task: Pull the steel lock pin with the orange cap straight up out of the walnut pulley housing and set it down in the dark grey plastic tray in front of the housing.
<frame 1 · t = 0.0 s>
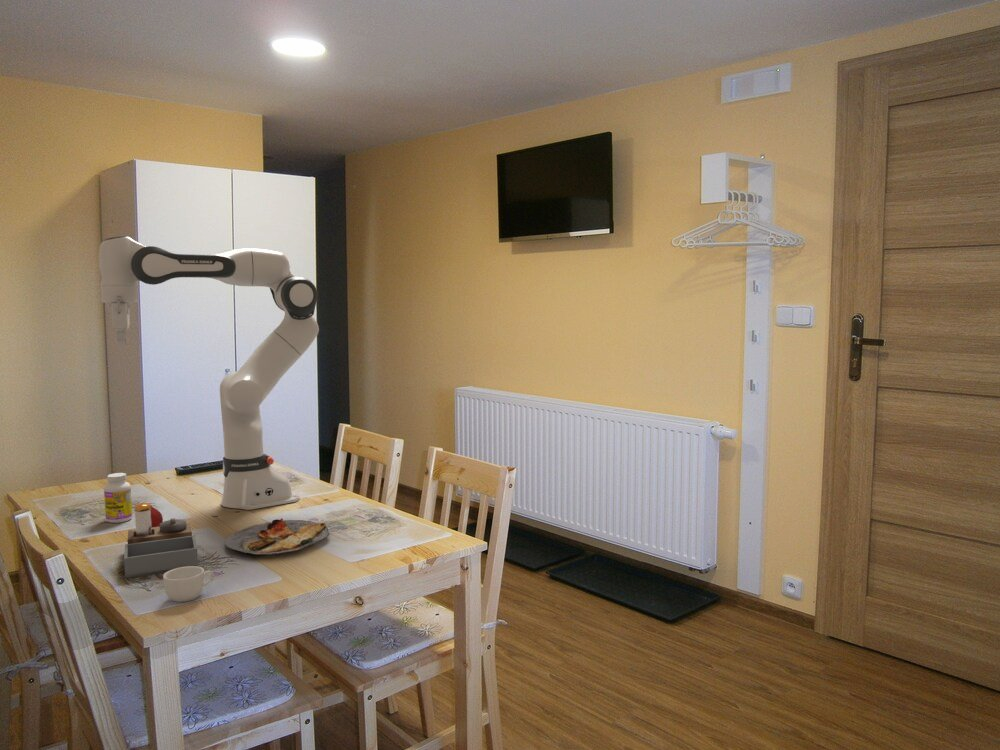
hand: (122, 346, 208), 48 cm above the table, tool pointing down, fingers open, 8 cm apart
supplement bottle: (119, 520, 210), on the table
lock pin: (145, 553, 183), resting in pulley housing
pulley housing: (161, 550, 184), on the table
red round piece: (151, 535, 197), on the table
parts tray: (161, 565, 174), on the table
food plate: (278, 544, 190), on the table
teacup: (190, 597, 156), on the table
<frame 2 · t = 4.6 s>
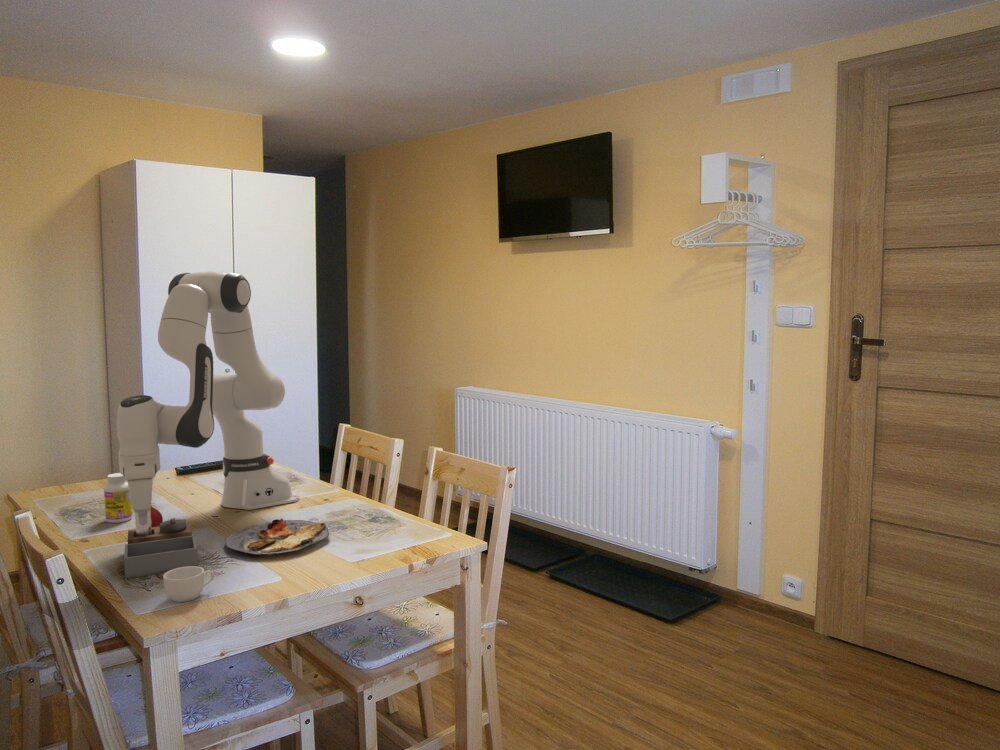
hand: (143, 520, 182), 8 cm above the table, tool pointing down, fingers closed on lock pin, 3 cm apart
lock pin: (145, 553, 183), resting in pulley housing, touching gripper
everything else where it was.
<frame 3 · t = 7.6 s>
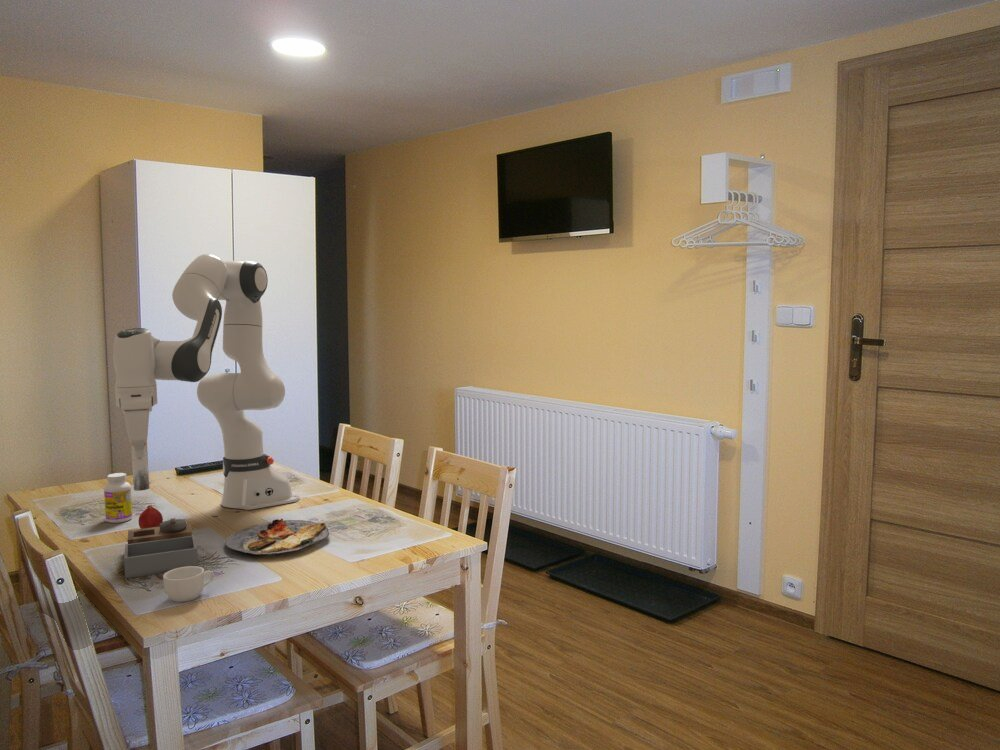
hand: (139, 455, 179), 24 cm above the table, tool pointing down, fingers closed on lock pin, 3 cm apart
lock pin: (141, 488, 180), point 16 cm above the table, touching gripper
everything else where it was.
when the fingers open (11 cm above the table, at t = 11.0 s): lock pin drops 2 cm, resting on parts tray.
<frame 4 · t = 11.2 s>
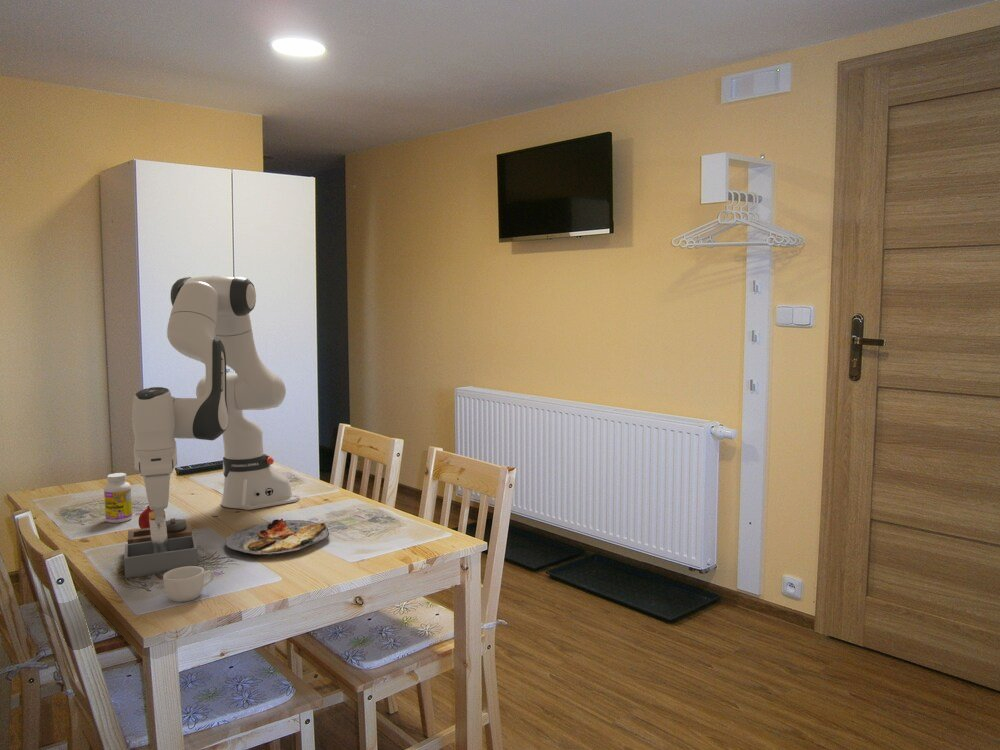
hand: (159, 518, 173), 11 cm above the table, tool pointing down, fingers open, 5 cm apart
lock pin: (161, 562, 174), point 1 cm above the table, touching parts tray
everything else where it was.
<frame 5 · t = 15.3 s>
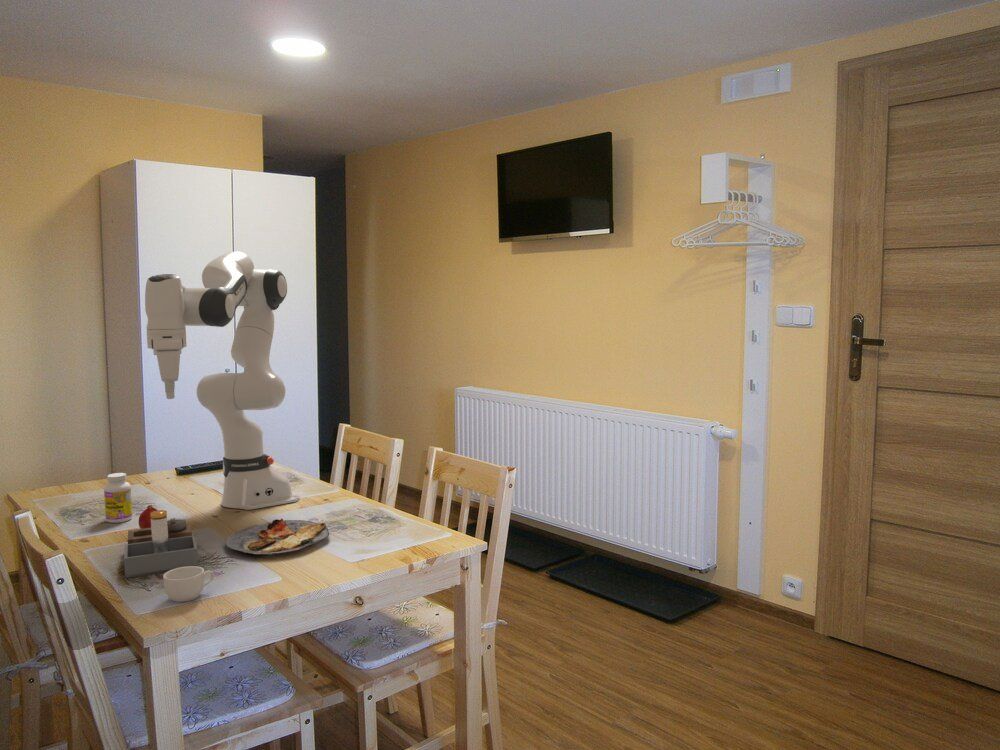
hand: (169, 396, 187), 37 cm above the table, tool pointing down, fingers open, 8 cm apart
nothing on the table moved.
at the end: lock pin inside the target area on the parts tray (0.0 cm from its centre), point 0.6 cm above the parts tray's base; the gripper is holding nothing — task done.
